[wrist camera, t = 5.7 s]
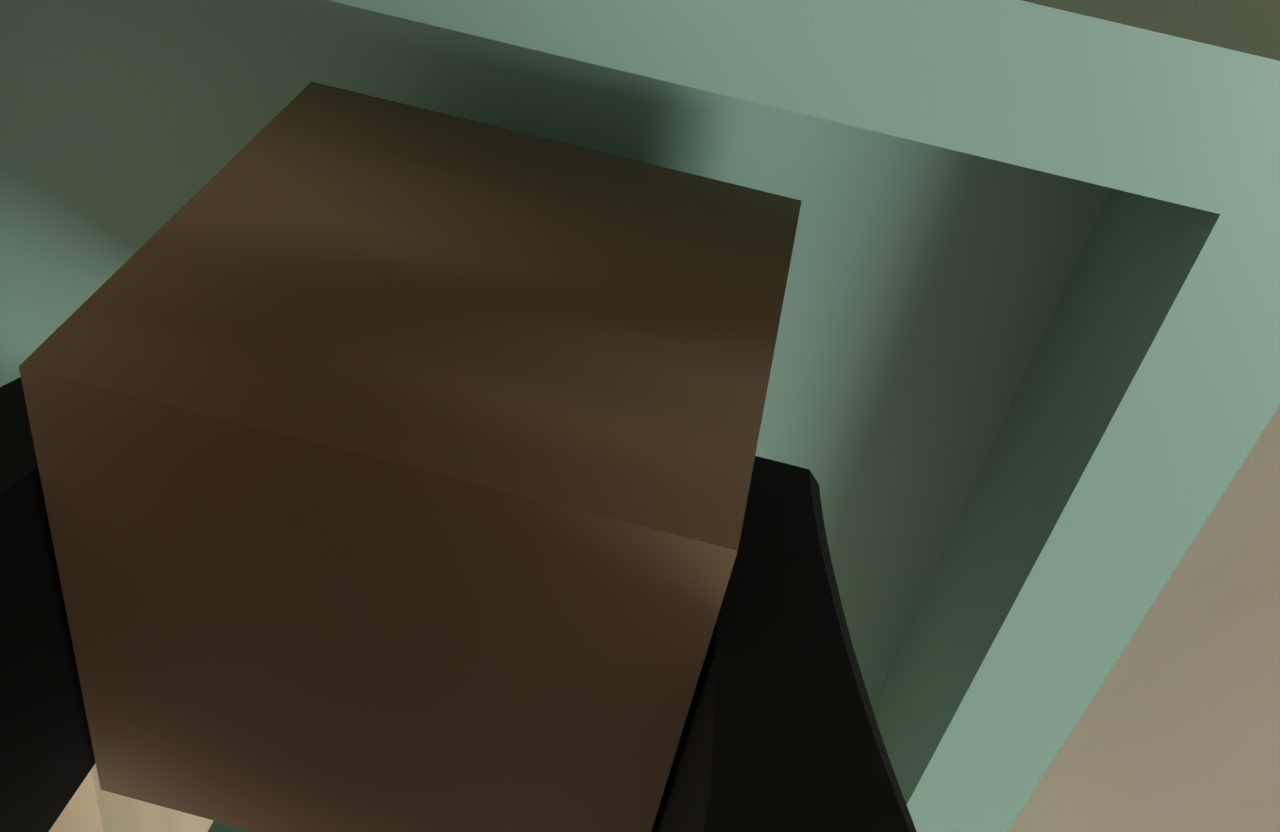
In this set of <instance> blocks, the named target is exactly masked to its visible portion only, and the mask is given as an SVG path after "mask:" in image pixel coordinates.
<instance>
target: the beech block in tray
mask: <svg viewBox="0 0 1280 832" xmlns="http://www.w3.org/2000/svg"><path fill="white" fill-rule="evenodd" d="M213 821H214V820H210V819H206V818H203V817H199V816H195V815H192V814H188V813H184V812H181V811H177V810H173V809H170V808H166V807H162V806H159V805H155V804H151V803H148V802H144V801H140V800H137V799H133V798H129V797H126V796H122V795H118V794H115V793H111V792H107V791H104V790H101V788H100V783H99V778H98V773H97V768H96V763H95V765H94V766H93V768H92V769H91V770H90V772H89V773H88V775H87V776H86V778H85V779H84V781H83V782H82V784H81V785H80V787H79V788H78V789H77V791H76V792H75V794H74V795H73V797H72V798H71V800H70V801H69V803H68V804H67V806H66V807H65V808H64V810H63V811H62V813H61V814H60V816H59V817H58V819H57V820H56V822H55V823H54V825H53V826H52V827H51V829H50V830H49V832H208V830H209V828H210V826H211V824H212V823H213Z"/></svg>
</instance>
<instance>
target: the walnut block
mask: <svg viewBox="0 0 1280 832" xmlns="http://www.w3.org/2000/svg"><path fill="white" fill-rule="evenodd" d="M800 207H801V200H797V199H793V198H789V197H785V196H781V195H776V194H772V193H768V192H764V191H760V190H756V189H752V188H748V187H744V186H739V185H735V184H731V183H727V182H723V181H719V180H715V179H711V178H707V177H702V176H698V175H694V174H690V173H686V172H682V171H678V170H674V169H670V168H665V167H661V166H657V165H653V164H649V163H645V162H641V161H637V160H633V159H628V158H624V157H620V156H616V155H612V154H608V153H604V152H600V151H596V150H591V149H587V148H583V147H579V146H575V145H571V144H567V143H563V142H559V141H554V140H550V139H546V138H542V137H538V136H534V135H530V134H526V133H522V132H517V131H513V130H509V129H505V128H501V127H497V126H493V125H489V124H485V123H480V122H476V121H472V120H468V119H464V118H460V117H456V116H452V115H447V114H443V113H439V112H435V111H431V110H427V109H423V108H419V107H415V106H410V105H406V104H402V103H398V102H394V101H390V100H386V99H382V98H378V97H373V96H369V95H365V94H361V93H357V92H353V91H349V90H345V89H341V88H336V87H332V86H328V85H324V84H320V83H316V82H312V81H311V82H310V83H309V84H308V85H307V86H306V87H305V88H304V89H303V90H302V91H301V92H300V93H299V94H298V95H297V96H296V97H295V98H294V99H293V100H292V101H291V102H290V103H289V104H288V105H287V106H286V107H285V108H284V109H283V110H282V111H281V112H280V113H279V114H278V115H277V116H275V117H274V118H273V119H272V120H271V121H270V122H269V123H268V124H267V125H266V126H265V127H264V128H263V129H262V130H261V131H260V132H259V133H258V134H257V135H256V136H255V137H254V138H253V139H252V140H251V141H250V142H249V143H248V144H247V145H246V146H245V147H244V148H243V149H242V150H241V151H239V152H238V153H237V154H236V155H235V156H234V157H233V158H232V159H231V160H230V161H229V162H228V163H227V164H226V165H225V166H224V167H223V168H222V169H221V170H220V171H219V172H218V173H217V174H216V175H215V176H214V177H213V178H212V179H211V180H210V181H209V182H208V183H207V184H206V185H205V186H204V187H202V188H201V189H200V190H199V191H198V192H197V193H196V194H195V195H194V196H193V197H192V198H191V199H190V200H189V201H188V202H187V203H186V204H185V205H184V206H183V207H182V208H181V209H180V210H179V211H178V212H177V213H176V214H175V215H174V216H173V217H172V218H171V219H170V220H169V221H168V222H166V223H165V224H164V225H163V226H162V227H161V228H160V229H159V230H158V231H157V232H156V233H155V234H154V235H153V236H152V237H151V238H150V239H149V240H148V241H147V242H146V243H145V244H144V245H143V246H142V247H141V248H140V249H139V250H138V251H137V252H136V253H135V254H134V255H133V256H132V257H130V258H129V259H128V260H127V261H126V262H125V263H124V264H123V265H122V266H121V267H120V268H119V269H118V270H117V271H116V272H115V273H114V274H113V275H112V276H111V277H110V278H109V279H108V280H107V281H106V282H105V283H104V284H103V285H102V286H101V287H100V288H99V289H98V290H97V291H96V292H94V293H93V294H92V295H91V296H90V297H89V298H88V299H87V300H86V301H85V302H84V303H83V304H82V305H81V306H80V307H79V308H78V309H77V310H76V311H75V312H74V313H73V314H72V315H71V316H70V317H69V318H68V319H67V320H66V321H65V322H64V323H63V324H62V325H61V326H60V327H58V328H57V329H56V330H55V331H54V332H53V333H52V334H51V335H50V336H49V337H48V338H47V339H46V340H45V341H44V342H43V343H42V344H41V345H40V346H39V347H38V348H37V349H36V350H35V351H34V352H33V353H32V354H31V355H30V356H29V357H28V358H27V359H26V360H25V361H24V362H22V363H21V364H20V365H19V371H20V376H21V381H22V386H23V391H24V396H25V402H26V407H27V412H28V417H29V422H30V427H31V432H32V438H33V443H34V448H35V453H36V458H37V463H38V469H39V474H40V479H41V484H42V489H43V494H44V500H45V505H46V510H47V515H48V520H49V525H50V530H51V536H52V541H53V546H54V551H55V556H56V561H57V567H58V572H59V577H60V582H61V587H62V592H63V597H64V603H65V608H66V613H67V618H68V623H69V628H70V634H71V639H72V644H73V649H74V654H75V659H76V665H77V670H78V675H79V680H80V685H81V690H82V695H83V701H84V706H85V711H86V716H87V721H88V726H89V732H90V737H91V742H92V747H93V752H94V757H95V763H96V768H97V773H98V778H99V783H100V788H101V790H104V791H107V792H111V793H115V794H118V795H122V796H126V797H129V798H133V799H137V800H140V801H144V802H148V803H151V804H155V805H159V806H162V807H166V808H170V809H173V810H177V811H181V812H184V813H188V814H192V815H195V816H199V817H203V818H206V819H210V820H214V821H217V822H221V823H225V824H229V825H232V826H236V827H240V828H243V829H247V830H251V831H254V832H651V831H652V828H653V824H654V821H655V818H656V815H657V811H658V808H659V805H660V802H661V798H662V795H663V792H664V789H665V785H666V782H667V779H668V776H669V773H670V769H671V766H672V763H673V760H674V756H675V753H676V750H677V747H678V743H679V740H680V737H681V734H682V730H683V727H684V724H685V721H686V717H687V714H688V711H689V708H690V704H691V701H692V698H693V695H694V692H695V688H696V685H697V682H698V679H699V675H700V672H701V669H702V666H703V662H704V659H705V656H706V653H707V649H708V646H709V643H710V640H711V636H712V633H713V630H714V627H715V623H716V620H717V617H718V614H719V611H720V607H721V604H722V601H723V598H724V594H725V591H726V588H727V585H728V581H729V578H730V575H731V572H732V568H733V565H734V562H735V559H736V555H737V552H738V548H739V542H740V537H741V531H742V526H743V520H744V515H745V509H746V504H747V498H748V493H749V487H750V482H751V476H752V471H753V465H754V460H755V454H756V449H757V443H758V438H759V432H760V427H761V421H762V416H763V410H764V405H765V399H766V394H767V388H768V383H769V377H770V372H771V366H772V361H773V355H774V350H775V344H776V339H777V333H778V328H779V322H780V317H781V311H782V306H783V300H784V295H785V289H786V284H787V278H788V273H789V267H790V262H791V256H792V251H793V245H794V240H795V234H796V229H797V223H798V218H799V212H800Z"/></svg>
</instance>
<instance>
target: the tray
mask: <svg viewBox="0 0 1280 832" xmlns="http://www.w3.org/2000/svg"><path fill="white" fill-rule="evenodd" d="M311 81H312V82H316V83H320V84H324V85H328V86H332V87H336V88H341V89H345V90H349V91H353V92H357V93H361V94H365V95H369V96H373V97H378V98H382V99H386V100H390V101H394V102H398V103H402V104H406V105H410V106H415V107H419V108H423V109H427V110H431V111H435V112H439V113H443V114H447V115H452V116H456V117H460V118H464V119H468V120H472V121H476V122H480V123H485V124H489V125H493V126H497V127H501V128H505V129H509V130H513V131H517V132H522V133H526V134H530V135H534V136H538V137H542V138H546V139H550V140H554V141H559V142H563V143H567V144H571V145H575V146H579V147H583V148H587V149H591V150H596V151H600V152H604V153H608V154H612V155H616V156H620V157H624V158H628V159H633V160H637V161H641V162H645V163H649V164H653V165H657V166H661V167H665V168H670V169H674V170H678V171H682V172H686V173H690V174H694V175H698V176H702V177H707V178H711V179H715V180H719V181H723V182H727V183H731V184H735V185H739V186H744V187H748V188H752V189H756V190H760V191H764V192H768V193H772V194H776V195H781V196H785V197H789V198H793V199H797V200H801V207H800V212H799V218H798V223H797V229H796V234H795V240H794V245H793V251H792V256H791V262H790V267H789V273H788V278H787V284H786V289H785V295H784V300H783V306H782V311H781V317H780V322H779V328H778V333H777V339H776V344H775V350H774V355H773V361H772V366H771V372H770V377H769V383H768V388H767V394H766V399H765V405H764V410H763V416H762V421H761V427H760V432H759V438H758V443H757V449H756V454H755V456H759V457H763V458H766V459H770V460H774V461H778V462H782V463H786V464H790V465H794V466H798V467H802V468H806V469H809V470H810V471H811V473H812V474H813V476H814V477H815V479H816V480H817V482H818V484H819V489H820V499H821V506H822V513H823V519H824V526H825V531H826V536H827V542H828V547H829V552H830V556H831V561H832V566H833V570H834V574H835V579H836V583H837V587H838V591H839V595H840V599H841V603H842V607H843V611H844V615H845V619H846V622H847V626H848V630H849V633H850V637H851V641H852V644H853V648H854V651H855V654H856V657H857V661H858V664H859V667H860V670H861V673H862V677H863V680H864V683H865V686H866V690H867V693H868V696H869V699H870V703H871V706H872V709H873V712H874V716H875V719H876V722H877V725H878V727H879V730H880V733H881V736H882V739H883V742H884V745H885V748H886V751H887V754H888V756H889V759H890V762H891V765H892V768H893V770H894V773H895V776H896V778H897V781H898V784H899V786H900V789H901V791H902V794H903V797H904V799H905V802H906V805H907V807H908V810H909V813H910V815H911V818H912V821H913V823H914V826H915V829H916V831H917V832H1008V831H1009V829H1010V827H1011V826H1012V824H1013V823H1014V821H1015V820H1016V818H1017V816H1018V815H1019V813H1020V812H1021V810H1022V809H1023V807H1024V805H1025V804H1026V802H1027V801H1028V799H1029V798H1030V796H1031V795H1032V793H1033V791H1034V790H1035V788H1036V787H1037V785H1038V784H1039V782H1040V780H1041V779H1042V777H1043V776H1044V774H1045V773H1046V771H1047V769H1048V768H1049V766H1050V765H1051V763H1052V762H1053V760H1054V758H1055V757H1056V755H1057V754H1058V752H1059V751H1060V749H1061V747H1062V746H1063V744H1064V743H1065V741H1066V740H1067V738H1068V737H1069V735H1070V733H1071V732H1072V730H1073V729H1074V727H1075V726H1076V724H1077V722H1078V721H1079V719H1080V718H1081V716H1082V715H1083V713H1084V711H1085V710H1086V708H1087V707H1088V705H1089V704H1090V702H1091V700H1092V699H1093V697H1094V696H1095V694H1096V693H1097V691H1098V690H1099V688H1100V686H1101V685H1102V683H1103V682H1104V680H1105V679H1106V677H1107V675H1108V674H1109V672H1110V671H1111V669H1112V668H1113V666H1114V664H1115V663H1116V661H1117V660H1118V658H1119V657H1120V655H1121V653H1122V652H1123V650H1124V649H1125V647H1126V646H1127V644H1128V642H1129V641H1130V639H1131V638H1132V636H1133V635H1134V633H1135V632H1136V630H1137V628H1138V627H1139V625H1140V624H1141V622H1142V621H1143V619H1144V617H1145V616H1146V614H1147V613H1148V611H1149V610H1150V608H1151V606H1152V605H1153V603H1154V602H1155V600H1156V599H1157V597H1158V595H1159V594H1160V592H1161V591H1162V589H1163V588H1164V586H1165V584H1166V583H1167V581H1168V580H1169V578H1170V577H1171V575H1172V574H1173V572H1174V570H1175V569H1176V567H1177V566H1178V564H1179V563H1180V561H1181V559H1182V558H1183V556H1184V555H1185V553H1186V552H1187V550H1188V548H1189V547H1190V545H1191V544H1192V542H1193V541H1194V539H1195V537H1196V536H1197V534H1198V533H1199V531H1200V530H1201V528H1202V527H1203V525H1204V523H1205V522H1206V520H1207V519H1208V517H1209V516H1210V514H1211V512H1212V511H1213V509H1214V508H1215V506H1216V505H1217V503H1218V501H1219V500H1220V498H1221V497H1222V495H1223V494H1224V492H1225V490H1226V489H1227V487H1228V486H1229V484H1230V483H1231V481H1232V479H1233V478H1234V476H1235V475H1236V473H1237V472H1238V470H1239V469H1240V467H1241V465H1242V464H1243V462H1244V461H1245V459H1246V458H1247V456H1248V454H1249V453H1250V451H1251V450H1252V448H1253V447H1254V445H1255V443H1256V442H1257V440H1258V439H1259V437H1260V436H1261V434H1262V432H1263V431H1264V429H1265V428H1266V426H1267V425H1268V423H1269V422H1270V420H1271V418H1272V417H1273V415H1274V414H1275V412H1276V411H1277V409H1278V407H1279V406H1280V0H0V387H1V386H3V385H5V384H7V383H9V382H11V381H13V380H15V379H17V378H19V377H21V376H20V371H19V365H20V364H21V363H22V362H24V361H25V360H26V359H27V358H28V357H29V356H30V355H31V354H32V353H33V352H34V351H35V350H36V349H37V348H38V347H39V346H40V345H41V344H42V343H43V342H44V341H45V340H46V339H47V338H48V337H49V336H50V335H51V334H52V333H53V332H54V331H55V330H56V329H57V328H58V327H60V326H61V325H62V324H63V323H64V322H65V321H66V320H67V319H68V318H69V317H70V316H71V315H72V314H73V313H74V312H75V311H76V310H77V309H78V308H79V307H80V306H81V305H82V304H83V303H84V302H85V301H86V300H87V299H88V298H89V297H90V296H91V295H92V294H93V293H94V292H96V291H97V290H98V289H99V288H100V287H101V286H102V285H103V284H104V283H105V282H106V281H107V280H108V279H109V278H110V277H111V276H112V275H113V274H114V273H115V272H116V271H117V270H118V269H119V268H120V267H121V266H122V265H123V264H124V263H125V262H126V261H127V260H128V259H129V258H130V257H132V256H133V255H134V254H135V253H136V252H137V251H138V250H139V249H140V248H141V247H142V246H143V245H144V244H145V243H146V242H147V241H148V240H149V239H150V238H151V237H152V236H153V235H154V234H155V233H156V232H157V231H158V230H159V229H160V228H161V227H162V226H163V225H164V224H165V223H166V222H168V221H169V220H170V219H171V218H172V217H173V216H174V215H175V214H176V213H177V212H178V211H179V210H180V209H181V208H182V207H183V206H184V205H185V204H186V203H187V202H188V201H189V200H190V199H191V198H192V197H193V196H194V195H195V194H196V193H197V192H198V191H199V190H200V189H201V188H202V187H204V186H205V185H206V184H207V183H208V182H209V181H210V180H211V179H212V178H213V177H214V176H215V175H216V174H217V173H218V172H219V171H220V170H221V169H222V168H223V167H224V166H225V165H226V164H227V163H228V162H229V161H230V160H231V159H232V158H233V157H234V156H235V155H236V154H237V153H238V152H239V151H241V150H242V149H243V148H244V147H245V146H246V145H247V144H248V143H249V142H250V141H251V140H252V139H253V138H254V137H255V136H256V135H257V134H258V133H259V132H260V131H261V130H262V129H263V128H264V127H265V126H266V125H267V124H268V123H269V122H270V121H271V120H272V119H273V118H274V117H275V116H277V115H278V114H279V113H280V112H281V111H282V110H283V109H284V108H285V107H286V106H287V105H288V104H289V103H290V102H291V101H292V100H293V99H294V98H295V97H296V96H297V95H298V94H299V93H300V92H301V91H302V90H303V89H304V88H305V87H306V86H307V85H308V84H309V83H310V82H311ZM208 832H254V831H251V830H247V829H243V828H240V827H236V826H232V825H229V824H225V823H221V822H217V821H213V823H212V824H211V826H210V828H209V830H208Z"/></svg>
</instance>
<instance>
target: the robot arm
mask: <svg viewBox="0 0 1280 832" xmlns="http://www.w3.org/2000/svg"><path fill="white" fill-rule="evenodd" d="M94 765H95V757H94V752H93V747H92V742H91V737H90V732H89V726H88V721H87V716H86V711H85V706H84V701H83V695H82V690H81V685H80V680H79V675H78V670H77V665H76V659H75V654H74V649H73V644H72V639H71V634H70V628H69V623H68V618H67V613H66V608H65V603H64V597H63V592H62V587H61V582H60V577H59V572H58V567H57V561H56V556H55V551H54V546H53V541H52V536H51V530H50V525H49V520H48V515H47V510H46V505H45V500H44V494H43V489H42V484H41V479H40V474H39V469H38V463H37V458H36V453H35V448H34V443H33V438H32V432H31V427H30V422H29V417H28V412H27V407H26V402H25V396H24V391H23V386H22V381H21V377H19V378H17V379H15V380H13V381H11V382H9V383H7V384H5V385H3V386H1V387H0V832H49V830H50V829H51V827H52V826H53V825H54V823H55V822H56V820H57V819H58V817H59V816H60V814H61V813H62V811H63V810H64V808H65V807H66V806H67V804H68V803H69V801H70V800H71V798H72V797H73V795H74V794H75V792H76V791H77V789H78V788H79V787H80V785H81V784H82V782H83V781H84V779H85V778H86V776H87V775H88V773H89V772H90V770H91V769H92V768H93V766H94ZM651 832H917V831H916V829H915V826H914V823H913V821H912V818H911V815H910V813H909V810H908V807H907V805H906V802H905V799H904V797H903V794H902V791H901V789H900V786H899V784H898V781H897V778H896V776H895V773H894V770H893V768H892V765H891V762H890V759H889V756H888V754H887V751H886V748H885V745H884V742H883V739H882V736H881V733H880V730H879V727H878V725H877V722H876V719H875V716H874V712H873V709H872V706H871V703H870V699H869V696H868V693H867V690H866V686H865V683H864V680H863V677H862V673H861V670H860V667H859V664H858V661H857V657H856V654H855V651H854V648H853V644H852V641H851V637H850V633H849V630H848V626H847V622H846V619H845V615H844V611H843V607H842V603H841V599H840V595H839V591H838V587H837V583H836V579H835V574H834V570H833V566H832V561H831V556H830V552H829V547H828V542H827V536H826V531H825V526H824V519H823V513H822V506H821V499H820V489H819V484H818V482H817V480H816V479H815V477H814V476H813V474H812V473H811V471H810V470H809V469H806V468H802V467H798V466H794V465H790V464H786V463H782V462H778V461H774V460H770V459H766V458H763V457H759V456H755V460H754V465H753V471H752V476H751V482H750V487H749V493H748V498H747V504H746V509H745V515H744V520H743V526H742V531H741V537H740V542H739V548H738V552H737V555H736V559H735V562H734V565H733V568H732V572H731V575H730V578H729V581H728V585H727V588H726V591H725V594H724V598H723V601H722V604H721V607H720V611H719V614H718V617H717V620H716V623H715V627H714V630H713V633H712V636H711V640H710V643H709V646H708V649H707V653H706V656H705V659H704V662H703V666H702V669H701V672H700V675H699V679H698V682H697V685H696V688H695V692H694V695H693V698H692V701H691V704H690V708H689V711H688V714H687V717H686V721H685V724H684V727H683V730H682V734H681V737H680V740H679V743H678V747H677V750H676V753H675V756H674V760H673V763H672V766H671V769H670V773H669V776H668V779H667V782H666V785H665V789H664V792H663V795H662V798H661V802H660V805H659V808H658V811H657V815H656V818H655V821H654V824H653V828H652V831H651Z"/></svg>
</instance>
